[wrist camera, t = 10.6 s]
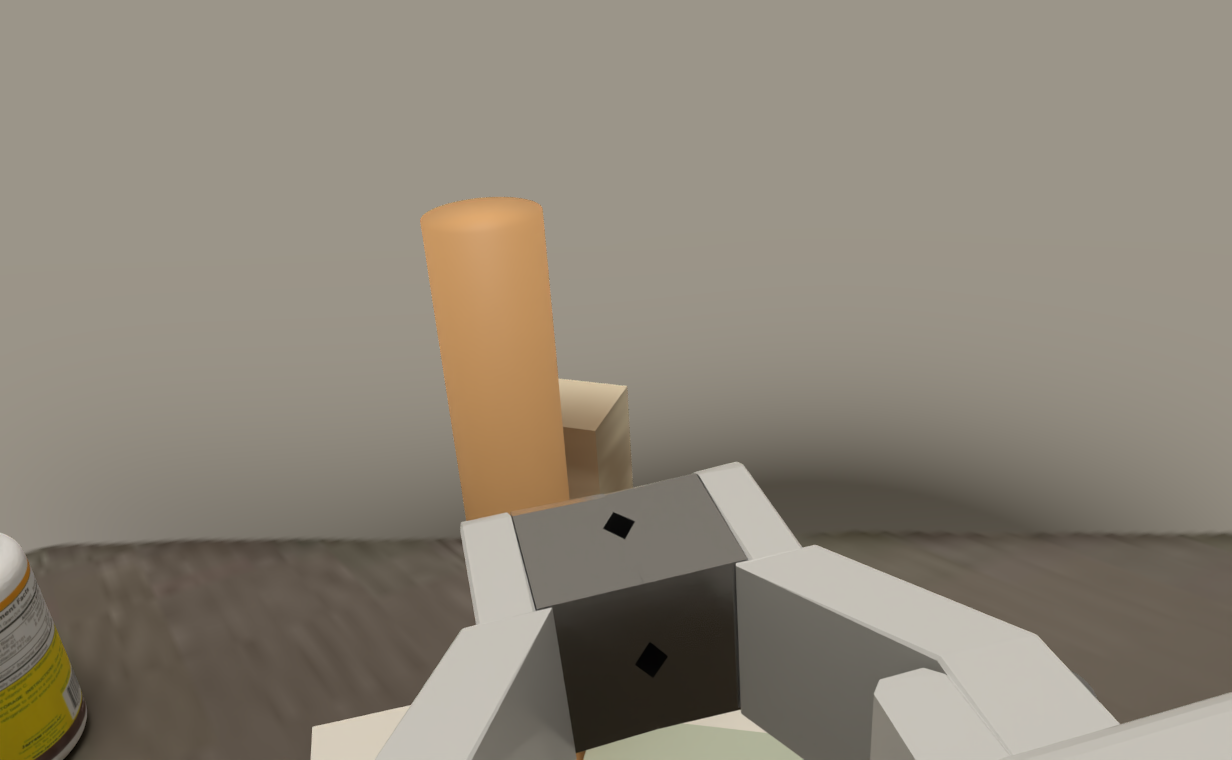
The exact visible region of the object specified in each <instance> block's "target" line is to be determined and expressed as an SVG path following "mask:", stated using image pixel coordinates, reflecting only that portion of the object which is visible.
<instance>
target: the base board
mask: <svg viewBox="0 0 1232 760" xmlns="http://www.w3.org/2000/svg"><path fill="white" fill-rule="evenodd" d="M410 706H411V705H410ZM410 706H405V707H401V708H396V709H392V710H387V711H383V712H378V713H373V714H369V715H364V716H360V717H355V718H351V719H346V720H342V721H337V722H333V723H328V724H324V725H319V726H315V727H312V746H311V760H375V758H376V757H377V755H378V754H379V752H380V751H381V749H382V748H383V746H384V745H385V743H386V742H387V740H388V739H389V737H390V736H391V734H392V733H393V731H394V730H395V728H396V727H397V725H398V724H399V722H400V721H401V719H402V718H403V716H404V715H405V713H406V712H407V710H408V709H409V707H410ZM684 724H692V725H701V726H710V727H719V728H727V729H736V730H745V731H754V732H763V733H767V732H766V731H764V730H763V729H761V728H760V727H759V726H757V725H756V724H755V723H753V722H752V721H751V720H749V719H748V718H746V717H745V716H744V715H742V714H741V710H737V711H733V712H729V713H724V714H720V715H716V716H712V717H707V718H703V719H699V720H695V721H690V722H686V723H684Z"/></svg>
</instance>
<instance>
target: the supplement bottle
mask: <svg viewBox="0 0 1232 760" xmlns="http://www.w3.org/2000/svg"><path fill="white" fill-rule="evenodd" d="M86 719H87V706H86V702H85V699H84V696H83V694H82V691H81V689H80V686H79V683H78V681H77V679H76V676H75V673H74V671H73V669H72V666H71V664H70V661H69V659H68V656H67V654H66V651H65V649H64V647H63V644H62V642H61V639H60V637H59V634H58V632H57V629H56V627H55V625H54V622H53V620H52V618H51V615H50V612H49V610H48V608H47V605H46V603H45V601H44V598H43V596H42V593H41V591H40V589H39V586H38V584H37V581H36V579H35V577H34V574H33V572H32V569H31V567H30V565H29V562H28V559H27V557H26V555H25V553H24V551H23V549H22V548H21V546H20V545H19V543H18V542H16V541H15V540H14V539H13V538H11V537H9V536H7V535H5V534H3V533H0V760H63V759H64V758H65V757H66V756H67V755H68V754H69V753H70V751H71V750H72V749H73V748H74V746H75V745H76V743H77V742H78V740H79V738H80V737H81V735H82V732H83V730H84V727H85V724H86Z"/></svg>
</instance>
